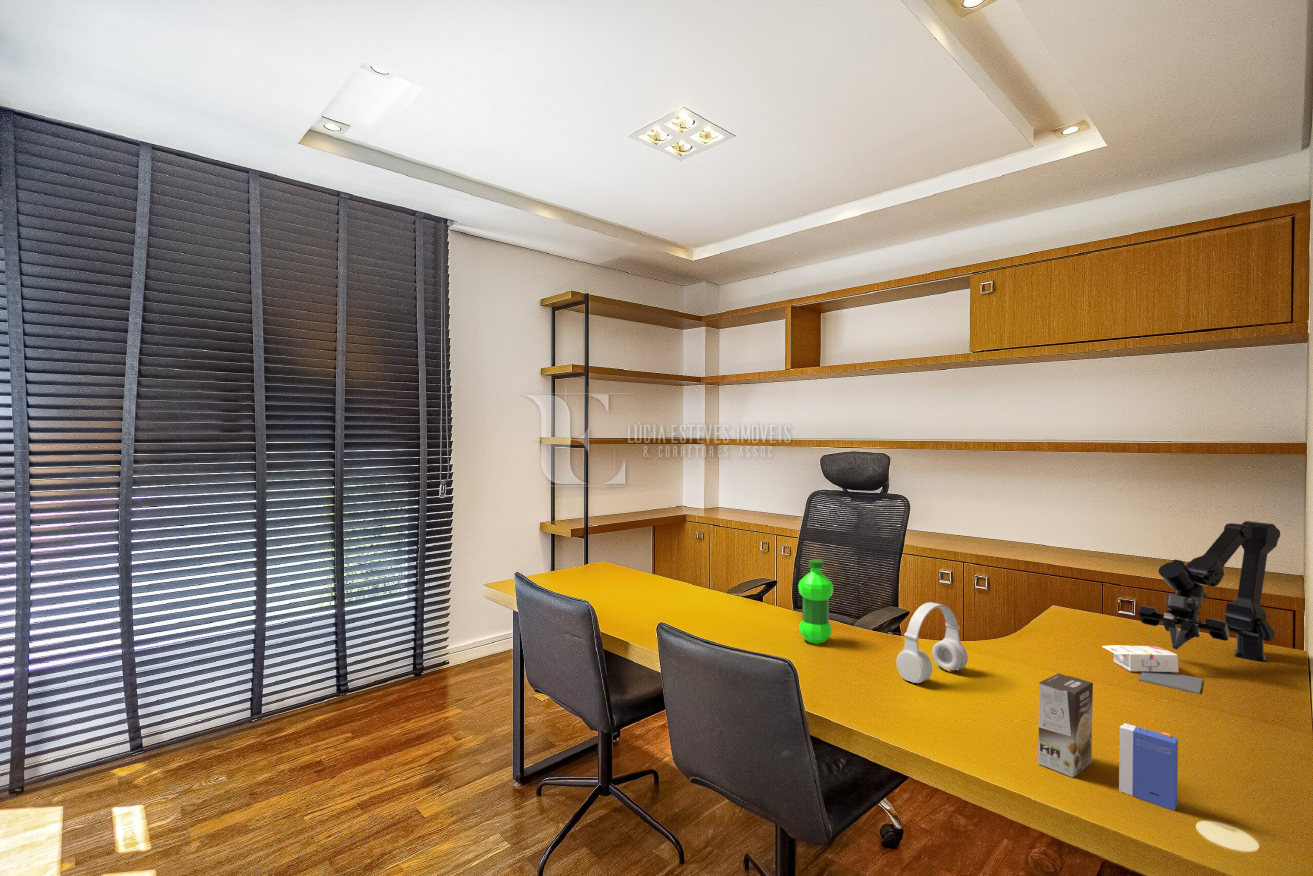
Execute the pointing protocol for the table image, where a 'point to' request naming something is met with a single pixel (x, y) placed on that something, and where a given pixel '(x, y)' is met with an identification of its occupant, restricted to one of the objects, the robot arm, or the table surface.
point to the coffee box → (1065, 724)
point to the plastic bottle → (815, 604)
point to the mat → (1173, 680)
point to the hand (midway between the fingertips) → (1174, 648)
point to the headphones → (944, 652)
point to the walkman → (1148, 765)
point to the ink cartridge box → (1144, 658)
